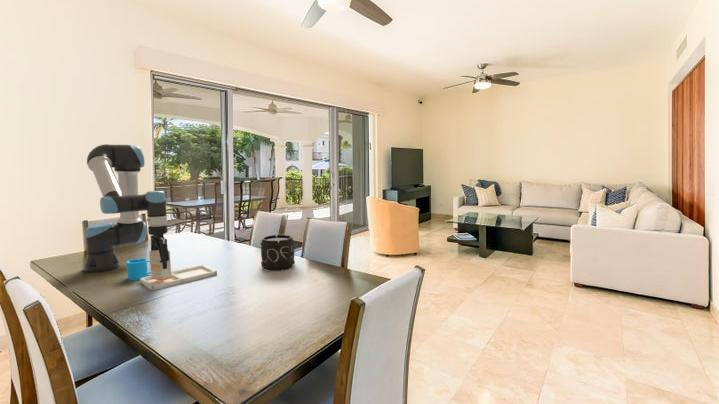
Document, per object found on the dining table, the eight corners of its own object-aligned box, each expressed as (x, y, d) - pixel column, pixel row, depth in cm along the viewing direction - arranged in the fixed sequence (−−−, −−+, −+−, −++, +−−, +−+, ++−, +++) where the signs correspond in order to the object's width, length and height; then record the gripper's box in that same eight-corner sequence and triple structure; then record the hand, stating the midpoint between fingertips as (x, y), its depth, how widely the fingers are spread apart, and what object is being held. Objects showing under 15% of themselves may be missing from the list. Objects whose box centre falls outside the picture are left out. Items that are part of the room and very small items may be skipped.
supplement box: (172, 278, 162) (170, 250, 161) (162, 281, 158) (160, 253, 156) (160, 275, 166) (158, 248, 164) (150, 278, 161) (148, 251, 160)
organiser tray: (140, 282, 162) (139, 278, 162) (203, 268, 184) (202, 264, 183) (151, 290, 152) (151, 286, 151) (217, 274, 173) (216, 270, 173)
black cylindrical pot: (284, 273, 175) (283, 242, 173) (254, 269, 181) (253, 240, 179) (301, 263, 192) (301, 235, 190) (273, 260, 198) (272, 233, 196)
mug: (129, 281, 164) (128, 264, 163) (126, 277, 170) (125, 260, 169) (158, 275, 172) (157, 259, 171) (154, 271, 178) (153, 256, 177)
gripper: (140, 223, 163) (144, 270, 166) (156, 229, 149) (160, 280, 151) (158, 221, 169) (161, 266, 171) (175, 226, 154) (178, 276, 157)
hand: (160, 273), depth 161 cm, fingers closed on supplement box, 9 cm apart
